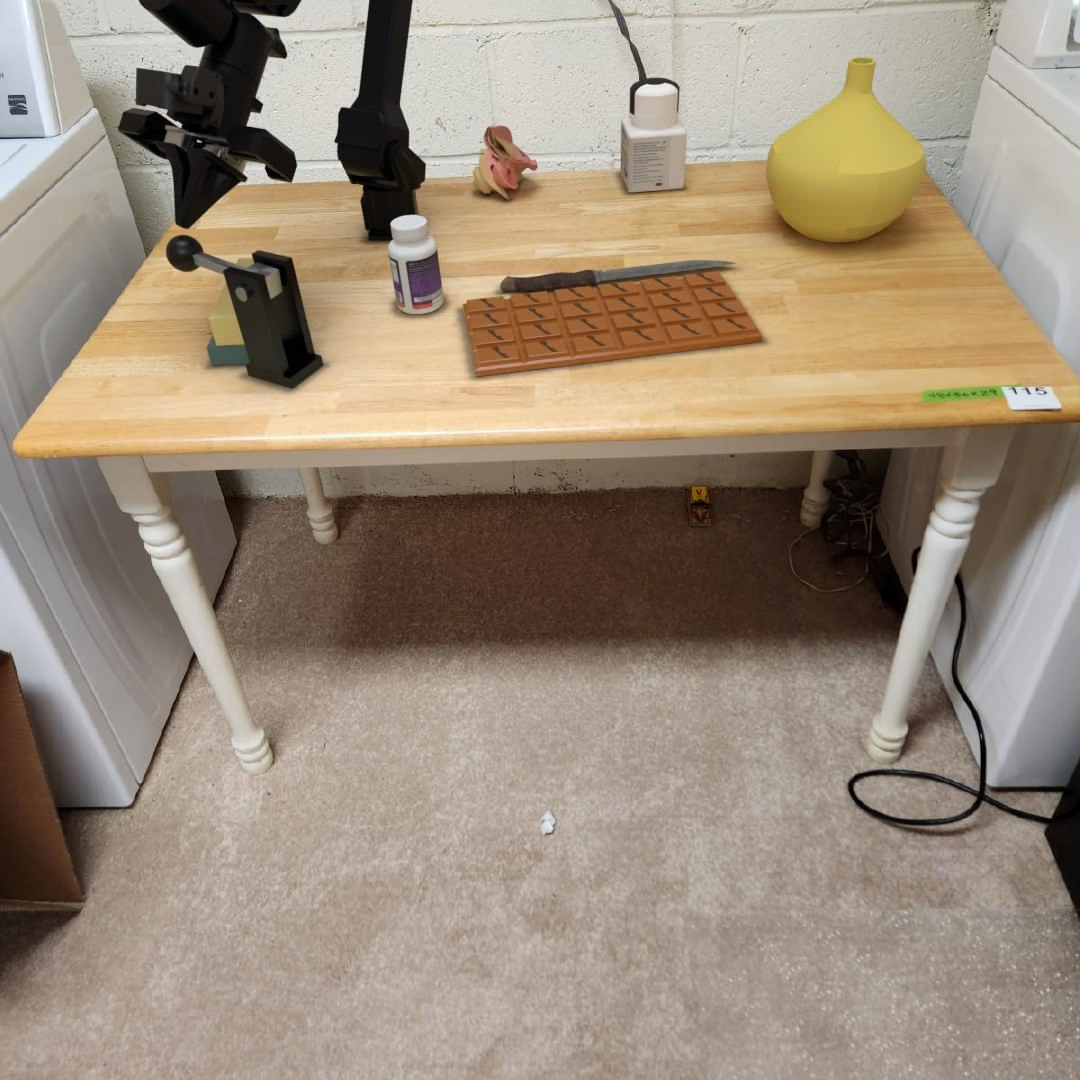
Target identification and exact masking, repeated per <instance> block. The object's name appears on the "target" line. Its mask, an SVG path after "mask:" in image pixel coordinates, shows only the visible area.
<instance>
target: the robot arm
mask: <svg viewBox="0 0 1080 1080" xmlns="http://www.w3.org/2000/svg"><path fill="white" fill-rule="evenodd" d="M302 1H303V0H138V2H139V4H140V6H141V7H142V8H144V9H145V10H146V11H147V12H148V13H149V14H151V15H152V16H153V17H154V18H155V19H157V20H158V22H161V24H163V25H164V26H165V27H166V28H168V29H169V30H170V31H171V32H173V34H175V35H176V36H177V37H178V38H180V39H181V40H182V41H184V42H185V44H187V45H188V46H190V47H192V48H197V49H199V48H203V51H202V52H203V53H202V55H201V57H200V61H199V64H198V66H197V65H190V64H185V65H184V66H183V68H182V70H181V73H175V72H169V71H165V70H164V71H163V70H158V69H157V70H156V69H149V68H142V67H136V69H135V70H136V71H135V105H136V106H140V107H147V106H150V107H155V108H156V109H162V110H167V111H166V114H165V116H167V117H168V118H169V119H168V118H167V117H165V116H164V115H162V113H159V112H158V111H155V110H151V109H144V108H136V107H131V108H129V109H126V110H124V111H122V113H121V117H120V121H119V123H118V126H117V131H118V133H120V134H121V135H123V136H125V137H126V138H128V139H130V140H131V141H132V142H134V143H136V144H137V145H139V146H140V147H142V148H143V149H145V150H147V151H148V152H149V153H151V154H152V155H155V156H156V157H158V158H160V159H163V160H167V161H168V162H169V164H170V167H171V175H172V183H173V204H174V223H175V225H176V226H178V227H179V228H181V229H185V230H189V229H190V228H191V227H193V225H194V224H195V223H197V222H198V221H199V220H200V219H201V218H202V217H203V216H204V215H205V214H206V213H207V212H208V210H210V209H211V208H212V207H213V206H214V205H215V204H217V202H218V201H220V199H222V198H223V197H225V196H226V194H228V193H229V192H231V190H233V189H234V188H236V186H238V185H239V184H240V183H246V182H247V181H248V180H249V179H248V178H249V177H248V176H247V175H245V174H244V172H245V168H246V165H247V162H252V163H257V164H263V165H265V166H264V170H265V172H266V175H267V177H268V178H269V179H270V180H274V181H279V182H282V183H283V182H284V183H290V184H292V183H293V181H294V177H295V175H296V171H297V168H298V163H297V157H296V153H295V151H293V149H291V148H290V147H289V146H288V145H287V144H285V143H284V142H283V141H282V140H280V139H279V138H277V136H275V135H274V134H273V133H271V132H270V131H268V129H266V128H262V127H257V126H255V127H254V126H249V125H248V123H249V120H250V116H251V114H252V113H254V114H261V113H262V110H263V106H264V103H263V102H262V101H260V99H258V98H257V95H258V92H259V89H260V86H261V82H262V79H263V76H264V73H265V70H266V66H267V63H268V60H269V58H274V59H275V58H276V59H283V60H285V59H287V57H288V51H287V48H286V45H285V43H284V42H283V40H282V38H281V34H280V29H279V28H277V27H269V26H265V24H263V23H262V22H261V21H260V20H259V19H258V18H257V17H256V16H264V17H265V16H266V17H275V18H288V17H290V16H291V15H293V14H294V13H295V12H296V10H297V9H298V8H299V6H300V4H301V3H302ZM413 1H414V0H368V6H367V16H366V23H365V33H364V42H363V43H364V44H363V51H362V61H361V63H362V64H361V69H360V79H359V86H358V87H359V88H358V94H357V96H356V99H355V100H354V101H353V102H352V104H351V105H350V107H346V106H341V107H340V108H339V111H338V114H337V130H336V135H335V138H334V140H333V143H335V144H336V157H337V159H338V161H339V162H340V163H341V166H342V168H343V170H344V173H345V175H346V176H347V178H348V180H349V183H350V184H351V185H359V186H362V194H361V197H360V200H359V202H360V207H361V214H362V220H363V223H364V225H363V226H364V230H365V231H367V232H368V233H367V239H368V240H369V241H381V240H382V241H383V240H393V237H392V231H391V222H392V221H393V220H394V219H396V218H398V217H401V216H405V215H420V216H422V215H421V214H420V213H419V208H418V207H419V206H418V200H417V194H416V190H419V189H421V187H422V186H421V184H423V183H424V182H425V181H426V171H427V170H426V169H427V164H426V162H425V161H424V160H423V159H422V158H420V156H418V155H417V154H416V153H415V152H414V150H412V149H411V148H410V128H409V126H408V123H407V120H406V117H405V115H404V112H403V110H402V107H401V100H402V99H401V98H402V91H403V90H402V89H403V83H404V82H403V81H404V73H405V66H406V65H405V64H406V58H407V49H408V42H409V33H410V25H411V16H412V11H413V9H412V8H413V3H414V2H413ZM170 119H171V120H173V121H174V122H178V123H179V124H180V125H181V126H178V125H177V124H176V123H174V122H172V121H171V120H170Z"/></svg>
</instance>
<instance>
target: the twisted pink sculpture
mask: <svg viewBox="0 0 1080 1080" xmlns="http://www.w3.org/2000/svg"><path fill="white" fill-rule="evenodd" d="M482 140H483V144H484V146H485V148H480V149H479V154H480V155H479V156H478V166H475V167H474V170H473V171H472V176H473V180H472V182H471V185H472V187H473V188H474V189H476V190H477V191H479V190H480V191H481V192H483V193H484V194H485V195H486V194H490V193H491V192H493V191H494V192H496V193H499V194H500V195H501V196H502V197H503V198H505V199H507V200H510V199H509V196H508V195H507V193H506V191H505V189H504V188H506V189H515V190H516V189H518V187H519V181H521V180H524V179H525V177H524V175H523V172H524V171H525V170H527V169H529V170H531V171H534V172H536V171H537V169H538V167H539V166H538V162H537V159H531V158H530V157H529V156H528V154H527V153H526V152H525V151H523V150H522V149H521V148H520V147H519V146H517V145H516V144H515V143H514V142H513V141H514V140H513V135H512V131H511V130H510V129H509V127H507V126H505V125H500V124H493V125H489V126H487V127H486V129H485V131H484V132H483V137H482Z"/></svg>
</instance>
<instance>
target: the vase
mask: <svg viewBox="0 0 1080 1080" xmlns="http://www.w3.org/2000/svg"><path fill="white" fill-rule="evenodd" d="M876 63H877V60H876V59H875V58H872V57H867V56H856V57H851V58H849V59H848V64H847V69H846V76H845V82H844V84H843V88H842V89H841V91H840V92H838V94H837V95H836V96H835V97H834V98H833V99H832V100H830V101H829V102H827V103H826V104H824V105H822V106H821V107H820V108H819V109H817V110H816V111H814V112H813V113H811V114H810V115H808V116H807V117H806V118H804V119H802V120H801V121H799V122H798V123H796V124H794V125H793V126H790V128H788V129H786V130H785V131H784V132H782V133H780V134H779V135H778V136H777V137H776V138H775V139H774V140H773V143H772V144H771V146H770V149H769V151H768V153H767V158H766V170H765V180H766V182H767V185H768V190H769V193H770V197H771V201H772V203H773V204H774V207H775V208H776V210H777V211H778V212H779V215H781V217H782V219H783V220H784V222H785V223H787V225H788V226H790V227H791V228H792V229H794V230H795V231H796V232H797V233H798V234H800V235H802V236H804V237H806V238H809V239H811V240H816V241H820V242H827V243H852V242H858V241H861V240H864V239H867V238H869V237H872V236H874V235H876V234H878V233H879V232H881V231H882V230H885V228H887V227H888V226H889V225H891V224H892V223H893V222H894V221H895V220H896V219H898V218H899V217H900V216H902V214H903V213H904V211H905V210H906V208H907V207H908V205H909V204H910V203H911V201H912V200H913V198H914V196H915V195H916V193H917V192H918V190H919V189H920V187H921V186H922V183H923V180H924V176H925V172H926V167H927V162H926V155H925V149H924V145H923V144H922V143H921V142H920V141H919V140H918V139H917V138H916V137H915V136H914V135H913V134H912V133H911V132H910V131H909V130H907V128H905V126H903V125H902V124H901V123H900V122H899V121H898V120H897V119H896V118H895V117H894V116H893V115H892V113H890V112H889V111H888V110H887V108H886V107H884V106H883V105H882V104H881V103H880V102H879V101H878V99H877V97H876V95H875V93H874V91H873V80H874V75H875V70H876Z"/></svg>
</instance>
